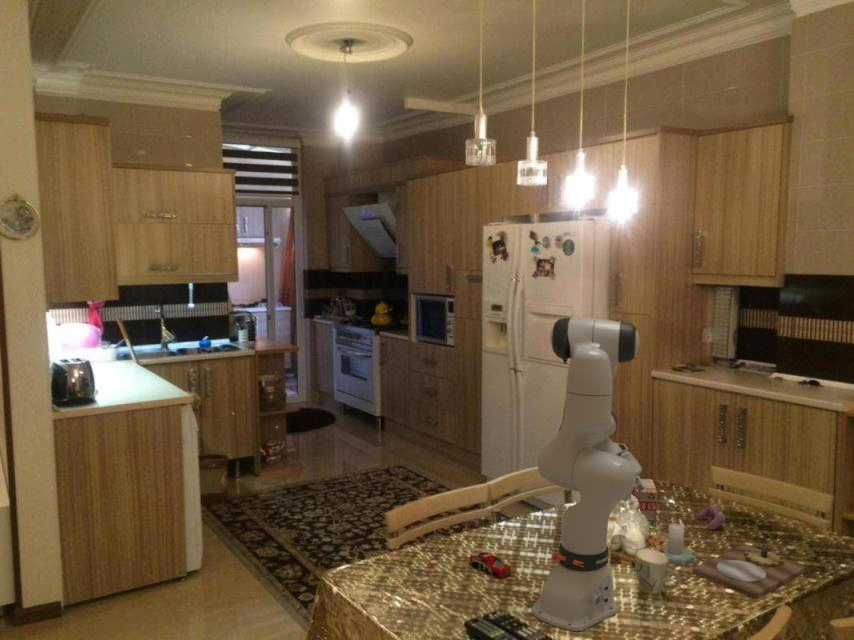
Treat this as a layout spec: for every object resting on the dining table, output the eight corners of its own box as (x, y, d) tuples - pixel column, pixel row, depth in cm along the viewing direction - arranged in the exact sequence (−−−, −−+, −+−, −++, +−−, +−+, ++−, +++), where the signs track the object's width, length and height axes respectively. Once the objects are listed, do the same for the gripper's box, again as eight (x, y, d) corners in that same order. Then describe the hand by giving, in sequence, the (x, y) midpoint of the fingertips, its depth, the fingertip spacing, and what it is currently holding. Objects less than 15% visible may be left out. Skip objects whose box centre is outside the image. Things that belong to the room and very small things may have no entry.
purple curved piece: (719, 535, 218) (730, 516, 217) (706, 529, 218) (717, 509, 217) (707, 523, 228) (717, 504, 227) (695, 517, 228) (705, 498, 227)
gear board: (756, 599, 175) (757, 578, 175) (692, 572, 190) (692, 553, 189) (807, 570, 190) (808, 551, 190) (744, 548, 205) (745, 530, 204)
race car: (514, 575, 190) (514, 561, 189) (500, 582, 186) (500, 567, 186) (480, 559, 200) (480, 545, 199) (466, 565, 196) (466, 551, 196)
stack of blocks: (629, 504, 241) (630, 469, 240) (648, 505, 240) (649, 470, 239) (635, 528, 220) (636, 490, 219) (656, 529, 219) (657, 491, 218)
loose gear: (687, 569, 192) (688, 537, 191) (648, 558, 199) (649, 527, 198) (701, 555, 200) (702, 525, 199) (664, 545, 207) (665, 516, 206)
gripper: (595, 458, 202) (627, 499, 197) (627, 443, 217) (657, 480, 212) (581, 470, 205) (612, 510, 200) (613, 454, 221) (643, 491, 215)
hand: (635, 494), depth 206 cm, fingers open, 8 cm apart
